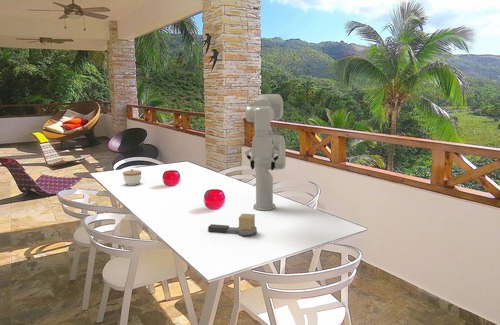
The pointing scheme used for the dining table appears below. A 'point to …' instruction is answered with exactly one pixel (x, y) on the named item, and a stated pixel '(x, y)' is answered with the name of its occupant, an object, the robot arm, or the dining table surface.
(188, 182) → the dining table surface
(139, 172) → the lidded bowl
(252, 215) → the brushed gold cube
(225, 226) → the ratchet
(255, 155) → the robot arm
